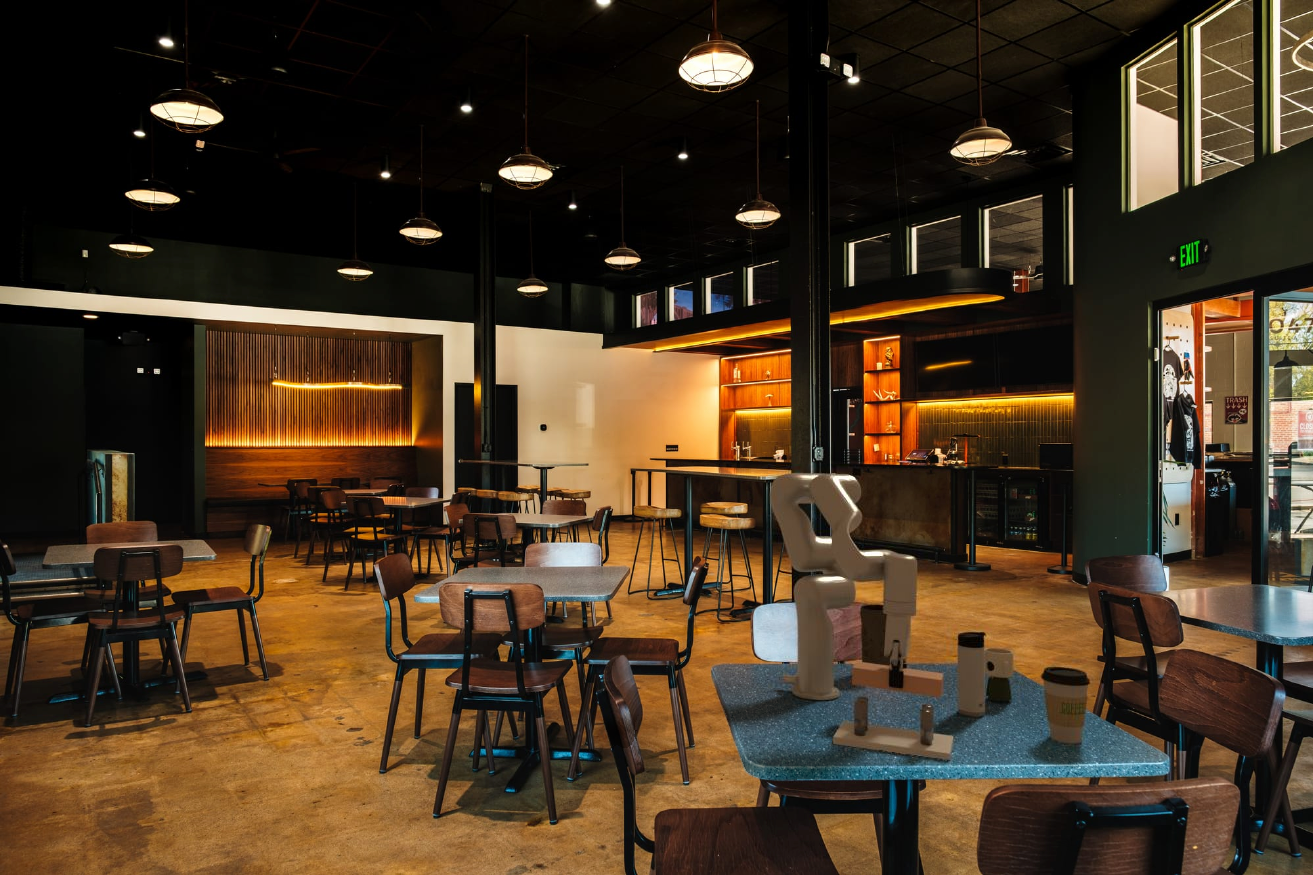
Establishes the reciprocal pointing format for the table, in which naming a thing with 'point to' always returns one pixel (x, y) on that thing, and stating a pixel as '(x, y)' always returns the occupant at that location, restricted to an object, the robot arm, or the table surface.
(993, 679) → the character mug
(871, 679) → the shelf board
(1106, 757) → the table surface
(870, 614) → the beer stein
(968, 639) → the travel mug
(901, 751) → the peg base
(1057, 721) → the coffee cup
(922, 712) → the steel pegs
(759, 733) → the table surface
